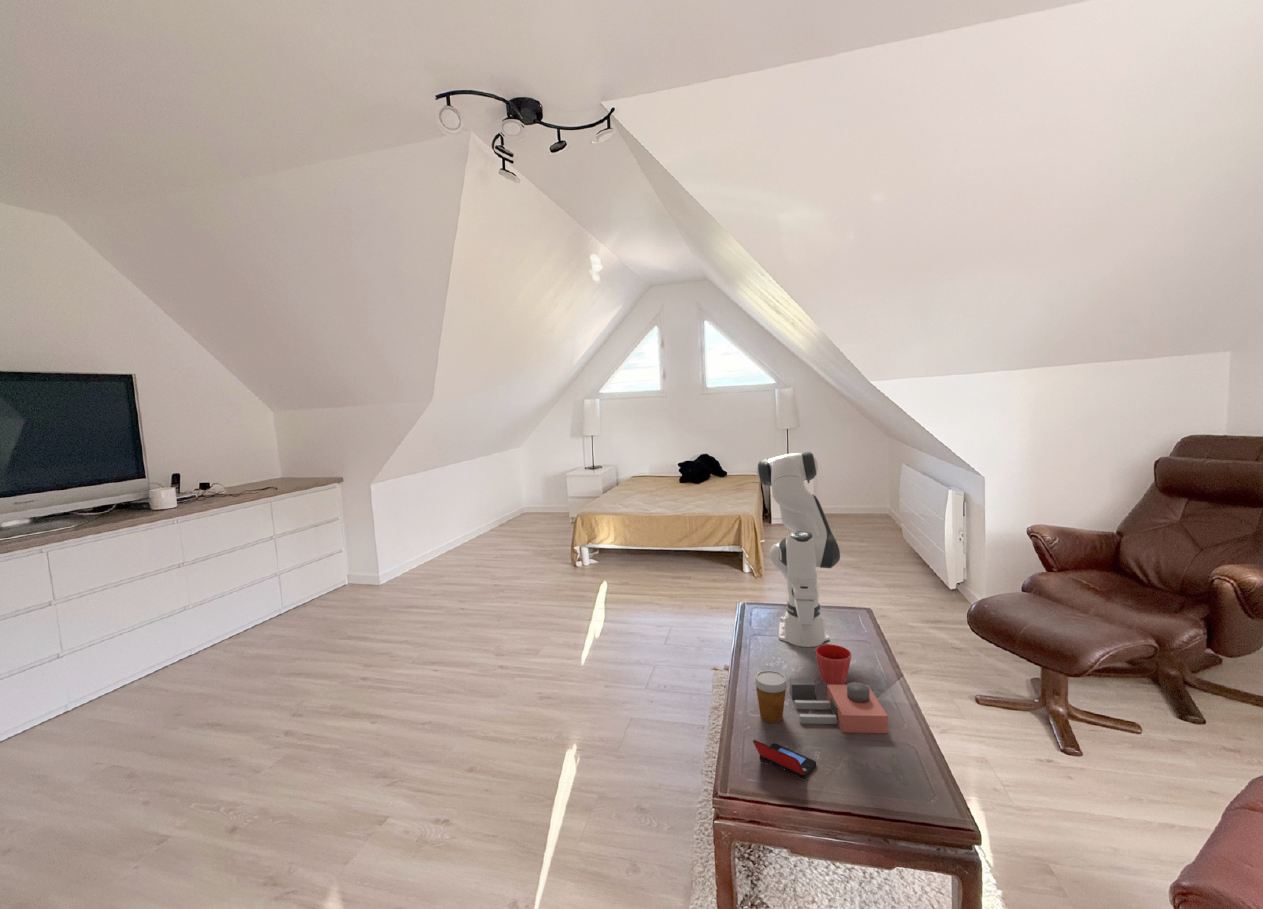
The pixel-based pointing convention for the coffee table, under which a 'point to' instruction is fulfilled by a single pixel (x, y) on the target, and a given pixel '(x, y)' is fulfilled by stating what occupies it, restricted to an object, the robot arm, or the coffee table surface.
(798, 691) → the tall grey rectangular block
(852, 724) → the pink block with rods
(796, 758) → the handheld game console
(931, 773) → the coffee table surface
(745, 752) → the coffee table surface
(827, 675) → the flower pot
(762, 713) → the disposable coffee cup
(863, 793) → the coffee table surface
